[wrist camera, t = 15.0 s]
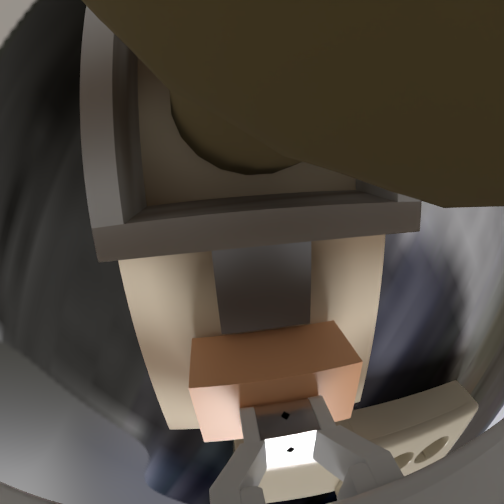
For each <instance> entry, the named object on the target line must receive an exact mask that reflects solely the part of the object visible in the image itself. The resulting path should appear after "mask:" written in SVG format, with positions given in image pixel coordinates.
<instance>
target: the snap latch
mask: <svg viewBox="0 0 504 504" xmlns="http://www.w3.org/2000/svg"><path fill="white" fill-rule="evenodd" d="M362 364H363V361H362V360H361V358H360V357H359V355H358V354H357V352H356V351H355V350H354V348H353V347H352V345H351V344H350V342H349V341H348V340H347V338H346V337H345V335H344V334H343V332H342V331H341V330H340V328H339V327H338V325H337V324H336V323H335V321H334V320H332V321H327V322H321V323H315V324H308V325H302V326H295V327H288V328H281V329H274V330H266V331H259V332H250V333H242V334H233V335H223V336H213V337H202V338H192V344H191V357H190V371H189V387H188V388H189V392H190V396H191V399H192V403H193V406H194V410H195V413H196V417H197V420H198V423H199V426H200V430H201V433H202V436H203V439H204V442H213V441H226V440H237V439H243V433H242V426H241V419H240V412H239V410H240V408H246V407H254V406H263V405H271V404H278V403H282V402H288V401H293V400H298V399H303V398H309V397H313V396H318V395H321V396H323V398H324V400H325V402H326V405H327V407H328V409H329V411H330V413H331V415H332V417H333V420H334V422H337V421H341V420H345V419H349V418H351V414H352V410H353V406H354V402H355V398H356V393H357V389H358V384H359V379H360V374H361V369H362Z"/></svg>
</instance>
